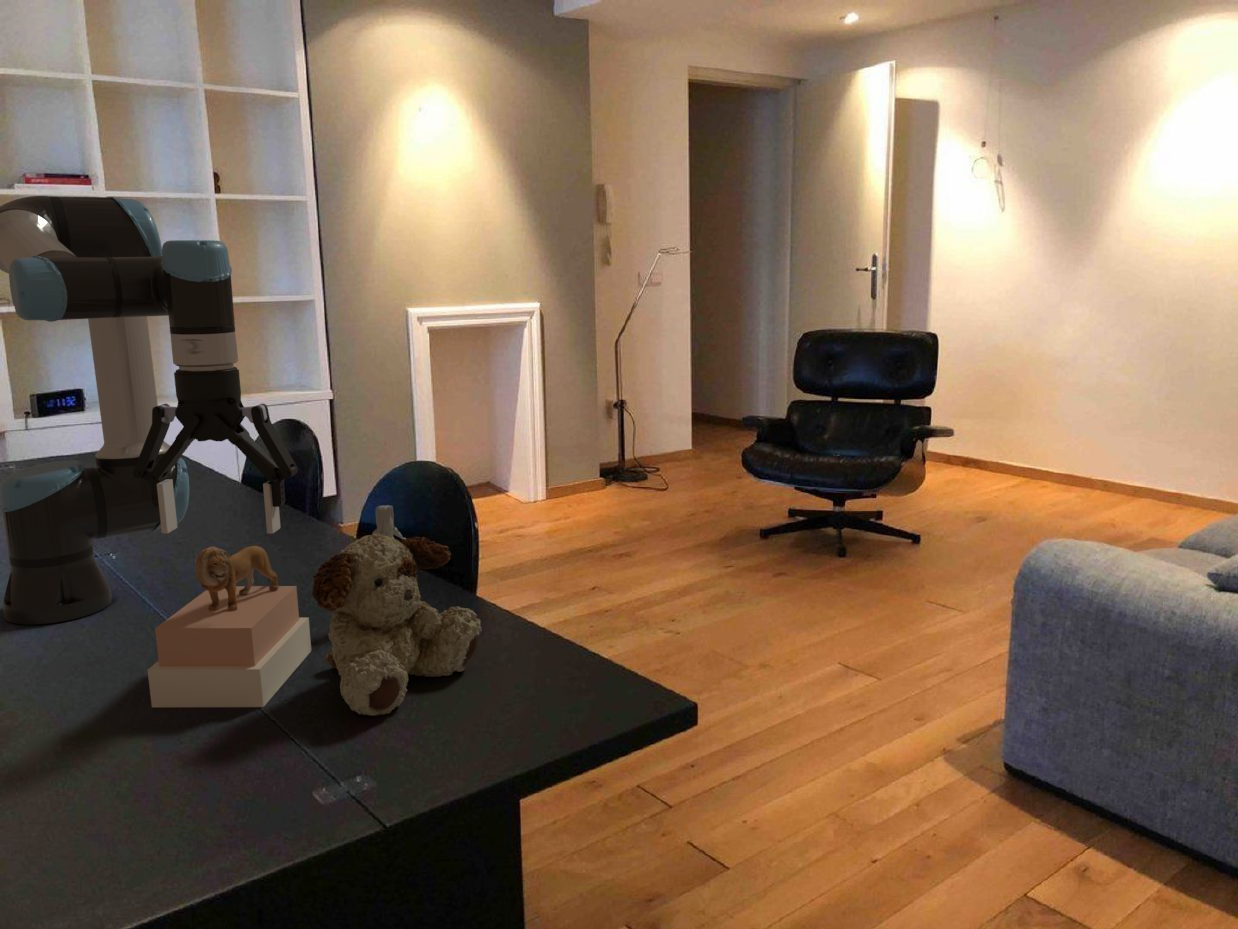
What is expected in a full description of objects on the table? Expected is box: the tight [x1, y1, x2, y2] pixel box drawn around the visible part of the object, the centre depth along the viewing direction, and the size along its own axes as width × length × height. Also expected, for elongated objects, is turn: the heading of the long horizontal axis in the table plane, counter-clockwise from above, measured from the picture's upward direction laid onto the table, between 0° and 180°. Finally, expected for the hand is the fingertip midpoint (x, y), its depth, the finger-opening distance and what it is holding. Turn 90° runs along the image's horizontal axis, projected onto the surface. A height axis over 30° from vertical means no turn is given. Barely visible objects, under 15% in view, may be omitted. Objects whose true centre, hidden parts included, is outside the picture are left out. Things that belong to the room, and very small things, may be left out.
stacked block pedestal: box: [147, 585, 312, 708], centre depth 129 cm, size 14×18×10 cm
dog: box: [311, 534, 483, 717], centre depth 127 cm, size 23×19×20 cm
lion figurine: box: [194, 545, 279, 611], centre depth 129 cm, size 15×5×9 cm, turn 168°
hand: (221, 531), depth 126 cm, fingers open, 13 cm apart
